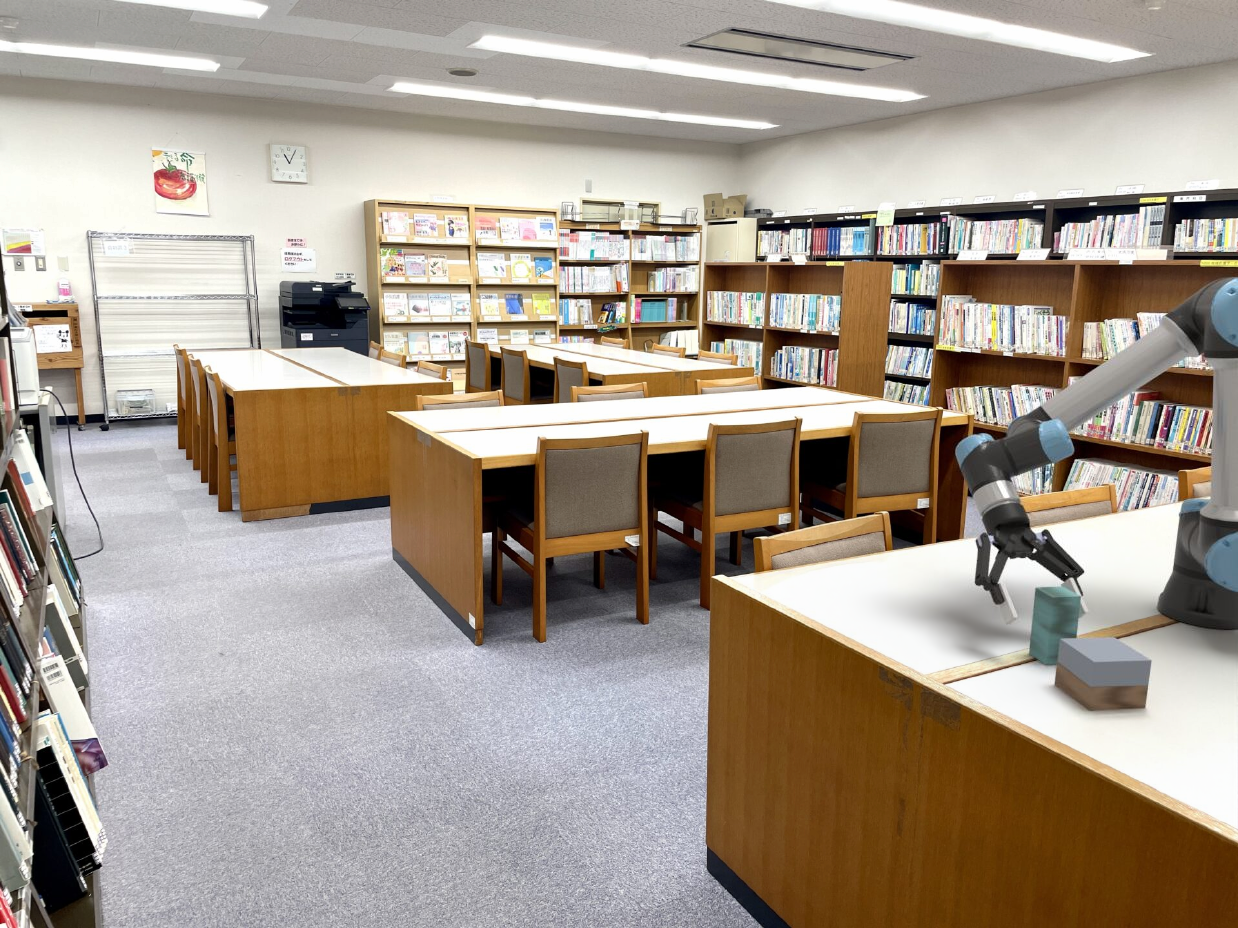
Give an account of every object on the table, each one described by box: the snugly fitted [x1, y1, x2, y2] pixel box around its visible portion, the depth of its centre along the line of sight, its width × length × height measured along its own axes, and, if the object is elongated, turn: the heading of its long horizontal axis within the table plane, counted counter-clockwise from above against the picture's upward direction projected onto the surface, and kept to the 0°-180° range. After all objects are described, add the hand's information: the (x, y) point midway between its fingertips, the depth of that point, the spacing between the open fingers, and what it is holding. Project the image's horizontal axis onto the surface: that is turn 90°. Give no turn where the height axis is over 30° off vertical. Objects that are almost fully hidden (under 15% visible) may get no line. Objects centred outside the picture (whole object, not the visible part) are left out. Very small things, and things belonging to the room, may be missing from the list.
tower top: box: [1058, 636, 1152, 687], centre depth 137 cm, size 9×9×4 cm
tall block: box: [1028, 585, 1081, 666], centre depth 150 cm, size 5×5×12 cm
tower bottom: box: [1054, 663, 1149, 712], centre depth 137 cm, size 9×9×4 cm
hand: (1047, 618), depth 151 cm, fingers open, 13 cm apart
